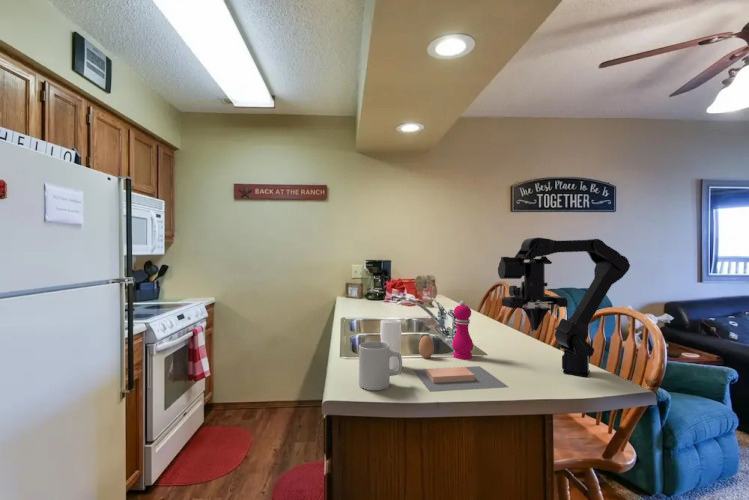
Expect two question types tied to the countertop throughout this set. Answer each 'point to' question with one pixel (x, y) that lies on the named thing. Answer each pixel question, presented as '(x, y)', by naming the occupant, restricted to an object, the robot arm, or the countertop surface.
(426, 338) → the egg
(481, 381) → the charcoal rubber mat
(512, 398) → the countertop surface
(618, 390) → the countertop surface
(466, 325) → the pepper mill
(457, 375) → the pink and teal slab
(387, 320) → the white cylinder
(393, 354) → the mug
